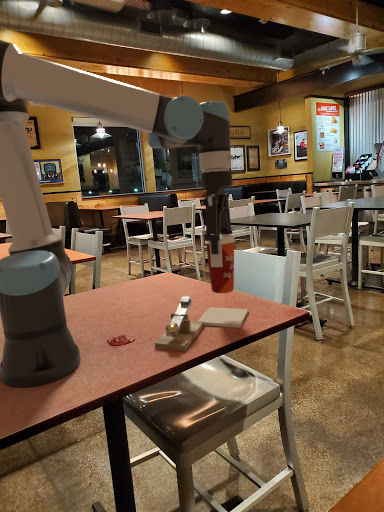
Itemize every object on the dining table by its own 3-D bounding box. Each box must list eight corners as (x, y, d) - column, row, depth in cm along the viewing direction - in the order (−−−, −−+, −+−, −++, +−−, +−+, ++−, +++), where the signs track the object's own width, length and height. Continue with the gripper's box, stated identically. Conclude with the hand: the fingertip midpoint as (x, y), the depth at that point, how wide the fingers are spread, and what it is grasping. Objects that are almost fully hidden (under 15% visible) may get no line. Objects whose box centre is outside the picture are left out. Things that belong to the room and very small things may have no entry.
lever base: (184, 351, 78) (183, 334, 77) (155, 348, 80) (153, 332, 80) (204, 326, 91) (203, 311, 90) (178, 324, 93) (177, 310, 93)
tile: (240, 327, 88) (239, 324, 88) (197, 324, 92) (196, 321, 92) (248, 312, 99) (248, 309, 98) (209, 309, 102) (209, 307, 102)
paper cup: (236, 294, 89) (233, 238, 87) (205, 294, 91) (202, 239, 88) (238, 285, 97) (236, 233, 94) (210, 285, 98) (207, 234, 96)
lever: (179, 338, 79) (178, 331, 78) (163, 336, 81) (161, 330, 80) (195, 302, 89) (194, 296, 88) (180, 302, 90) (178, 296, 90)
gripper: (220, 169, 77) (225, 273, 82) (240, 170, 96) (243, 254, 101) (187, 171, 80) (194, 272, 84) (212, 172, 99) (217, 254, 103)
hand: (221, 262), depth 92 cm, fingers closed on paper cup, 8 cm apart
